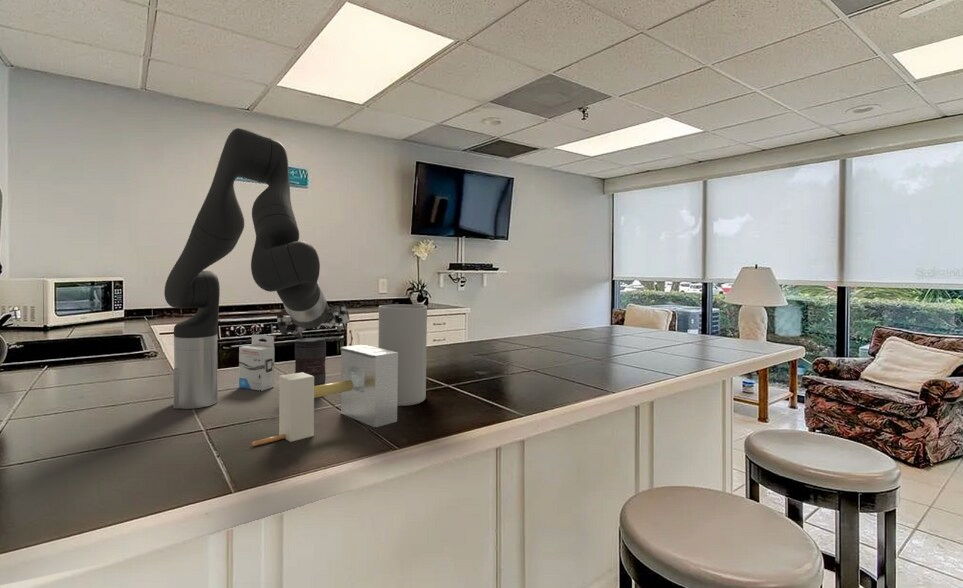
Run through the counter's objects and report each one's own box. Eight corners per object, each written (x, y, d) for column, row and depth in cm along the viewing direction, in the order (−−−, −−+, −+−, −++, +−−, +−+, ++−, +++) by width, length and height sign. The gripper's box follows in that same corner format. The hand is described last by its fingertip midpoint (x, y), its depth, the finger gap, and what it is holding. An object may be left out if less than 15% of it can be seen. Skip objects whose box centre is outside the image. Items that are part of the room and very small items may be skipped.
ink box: (238, 388, 136) (237, 336, 135) (251, 384, 140) (251, 334, 139) (262, 391, 133) (261, 338, 132) (275, 387, 137) (275, 336, 137)
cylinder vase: (368, 399, 127) (369, 305, 125) (405, 391, 136) (407, 303, 135) (397, 410, 118) (398, 309, 117) (435, 400, 127) (436, 307, 126)
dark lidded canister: (330, 390, 135) (330, 337, 135) (318, 397, 127) (318, 342, 127) (303, 388, 136) (303, 336, 135) (289, 396, 128) (289, 340, 127)
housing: (372, 428, 105) (373, 355, 104) (338, 413, 114) (339, 347, 113) (397, 421, 110) (397, 352, 109) (362, 408, 119) (363, 344, 118)
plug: (257, 450, 91) (257, 385, 90) (247, 443, 94) (246, 380, 94) (355, 424, 107) (356, 369, 106) (343, 419, 110) (344, 365, 109)
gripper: (340, 280, 97) (349, 310, 112) (266, 292, 94) (285, 321, 109) (345, 314, 95) (354, 340, 109) (269, 328, 92) (288, 352, 106)
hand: (319, 330), depth 109 cm, fingers open, 8 cm apart
